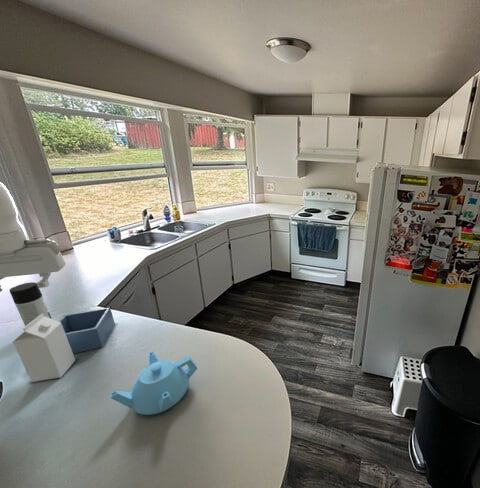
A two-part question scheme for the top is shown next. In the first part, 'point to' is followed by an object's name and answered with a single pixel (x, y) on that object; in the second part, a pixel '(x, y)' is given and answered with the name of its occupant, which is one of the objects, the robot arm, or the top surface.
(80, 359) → the top surface
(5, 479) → the top surface
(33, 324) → the milk carton
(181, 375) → the teapot
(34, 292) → the spray can
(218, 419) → the top surface
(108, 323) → the tub
